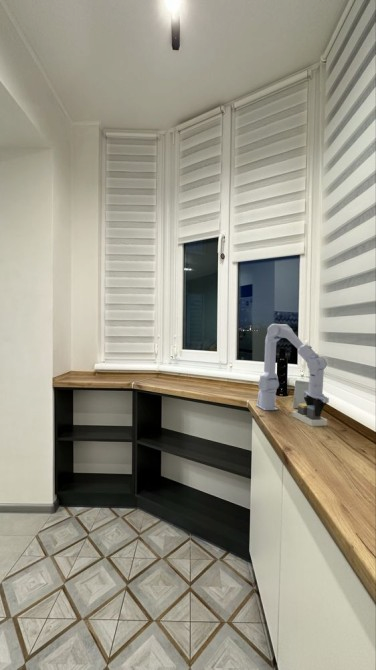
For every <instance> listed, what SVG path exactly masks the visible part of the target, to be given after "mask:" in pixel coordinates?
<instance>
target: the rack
mask: <svg viewBox="0 0 376 670" xmlns="http://www.w3.org/2000/svg"><path fill="white" fill-rule="evenodd" d="M291 416H292V417H293V418H294V419H297V420H298V421H301V422H302V423H304V424H306V425H308V426H311V427H320V426H323V425H324V426H328V419H327V418H324V417H322V416H321V419H319V420H311V419H309V418H307V415H301V414H299V413H298V410H292V411H291ZM324 426H323V427H324Z"/></svg>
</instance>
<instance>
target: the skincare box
mask: <svg viewBox="0 0 376 670" xmlns="http://www.w3.org/2000/svg"><path fill="white" fill-rule="evenodd" d="M305 390H307V391H309V379H301V378H295V383H294V391H293V401H292V402H293V404H292V409H297V410H298V404H304V403H306V402H305V400H304V397H306V396H307V395H303V391H305Z"/></svg>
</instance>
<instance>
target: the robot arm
mask: <svg viewBox="0 0 376 670" xmlns="http://www.w3.org/2000/svg"><path fill="white" fill-rule="evenodd" d="M281 339H287V341H289V342H290V344H292V345H293V346H294V347H295V348H296V349H297V354H298V355H299V356H300V357H301V358H302V359H303V360H304V361H305V362H306V366H307V368H308V372H309V378H308V380H309V391H307V390H305V391H303V395H307V396H306V397H304V400H305V402H306V404H307V405H314V407H315V416H320V415H321V414H322V412H323V409H324V408H325V406H326V405H327V404H328V403H329V400H330V398H329V397H327V396H325V394H324V392H323V390H324V388H323V387H324V373H325V372H324V371H325V369H326V368H327V366H328V363H327V361H326V359H325V357H323V356H320V355H319V354H318V353H316V351H314V350H313V349H312V348H313V346H311V345H309V344H304V343H303V342H302V340H301V339H300V338H299V337H298V335H297V334H296V333H295V332H294V331H293V328H291V327H290V325H289V324H286V323H283V324H282V323H281V324H280V323H271V324H270V325H269V326H268V327H267V333H266V336H265V340H264V362H263V363H264V365H263V372H262V373H261V375H260V376H259V380H258V388H259V390H258V393H257V403H256V404H255V406H256V407H258V408H260V409H262V410H263V411H278V410H279V408H277V407H276V395H277V393H276V392H277V389H279V387H280V382H279V377H278V374H277V373H276V360H277V359H276V357H277V343H278V342H279V341H280V340H281ZM321 416H322V415H321Z"/></svg>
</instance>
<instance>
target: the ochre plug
mask: <svg viewBox="0 0 376 670" xmlns="http://www.w3.org/2000/svg"><path fill="white" fill-rule="evenodd" d="M297 411H298V413H299V414H301V415H307V404H306V403H304V404H298V409H297Z"/></svg>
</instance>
